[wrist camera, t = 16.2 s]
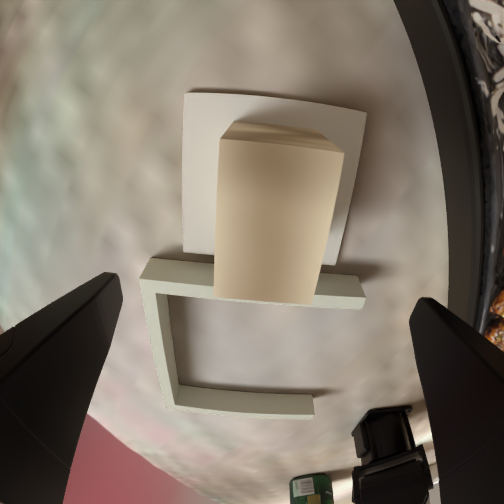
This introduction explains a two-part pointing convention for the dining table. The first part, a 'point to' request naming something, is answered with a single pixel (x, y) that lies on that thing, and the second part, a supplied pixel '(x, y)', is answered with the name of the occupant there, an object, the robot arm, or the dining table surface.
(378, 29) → the dining table surface
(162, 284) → the open square frame
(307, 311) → the dining table surface
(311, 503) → the coffee jar
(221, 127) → the rubber mat
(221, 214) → the block
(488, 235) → the food platter
